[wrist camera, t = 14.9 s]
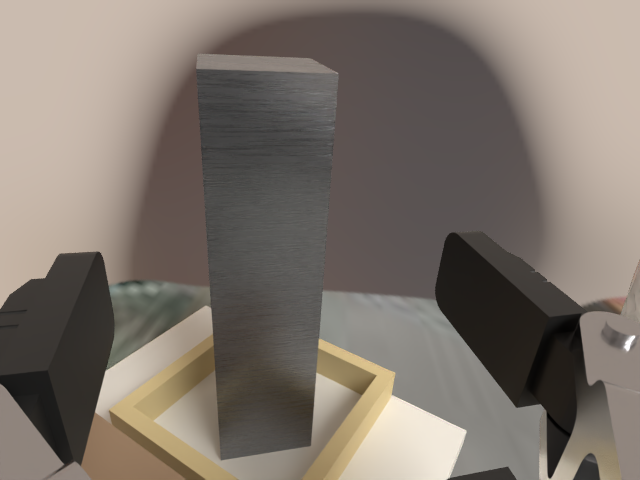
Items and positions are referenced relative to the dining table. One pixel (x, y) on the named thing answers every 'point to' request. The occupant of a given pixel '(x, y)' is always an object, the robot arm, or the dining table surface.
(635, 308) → the white cup
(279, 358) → the bar
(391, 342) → the dining table surface
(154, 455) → the white board with frames
